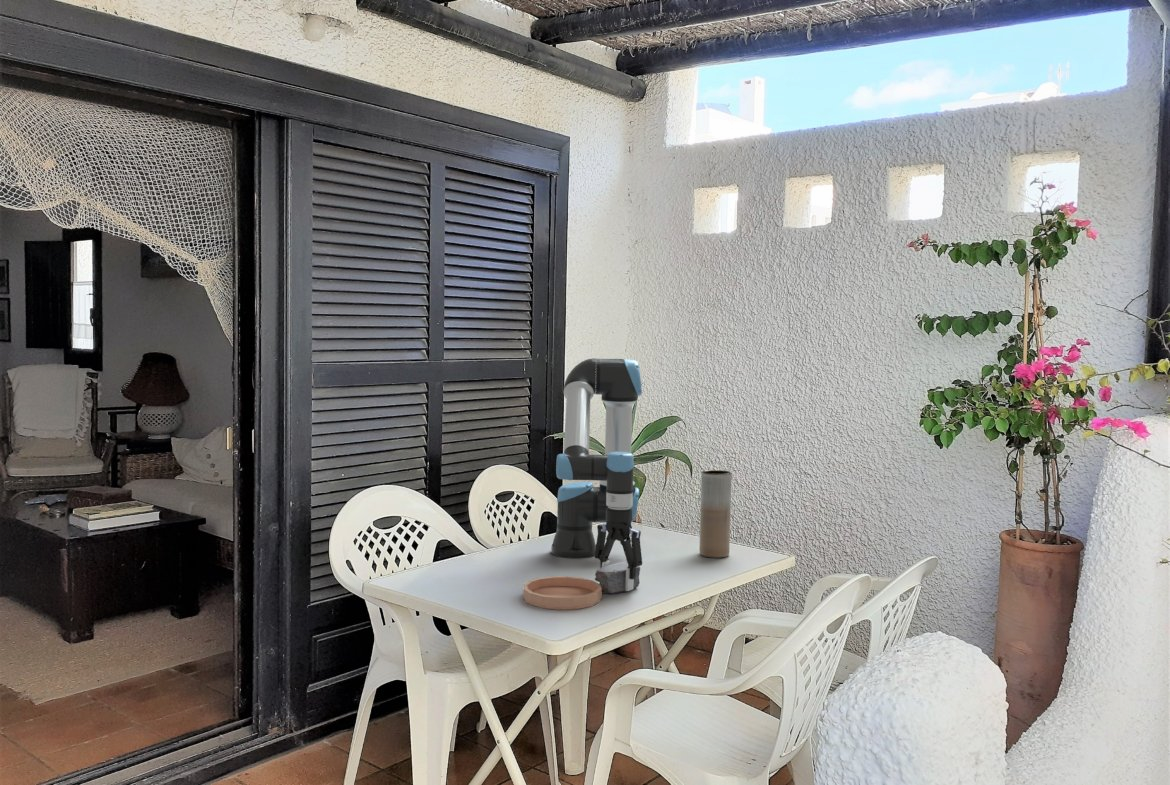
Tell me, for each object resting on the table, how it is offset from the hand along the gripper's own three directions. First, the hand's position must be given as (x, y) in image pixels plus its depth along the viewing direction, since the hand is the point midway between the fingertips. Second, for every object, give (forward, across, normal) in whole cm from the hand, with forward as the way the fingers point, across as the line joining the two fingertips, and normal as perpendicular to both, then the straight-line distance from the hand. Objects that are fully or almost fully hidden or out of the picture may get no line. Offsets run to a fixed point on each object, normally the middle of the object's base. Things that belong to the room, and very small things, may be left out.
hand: (617, 586), depth 251 cm
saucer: (+1, -6, -17) cm, 18 cm away
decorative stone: (+1, 0, +1) cm, 1 cm away
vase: (+1, -2, +56) cm, 56 cm away
